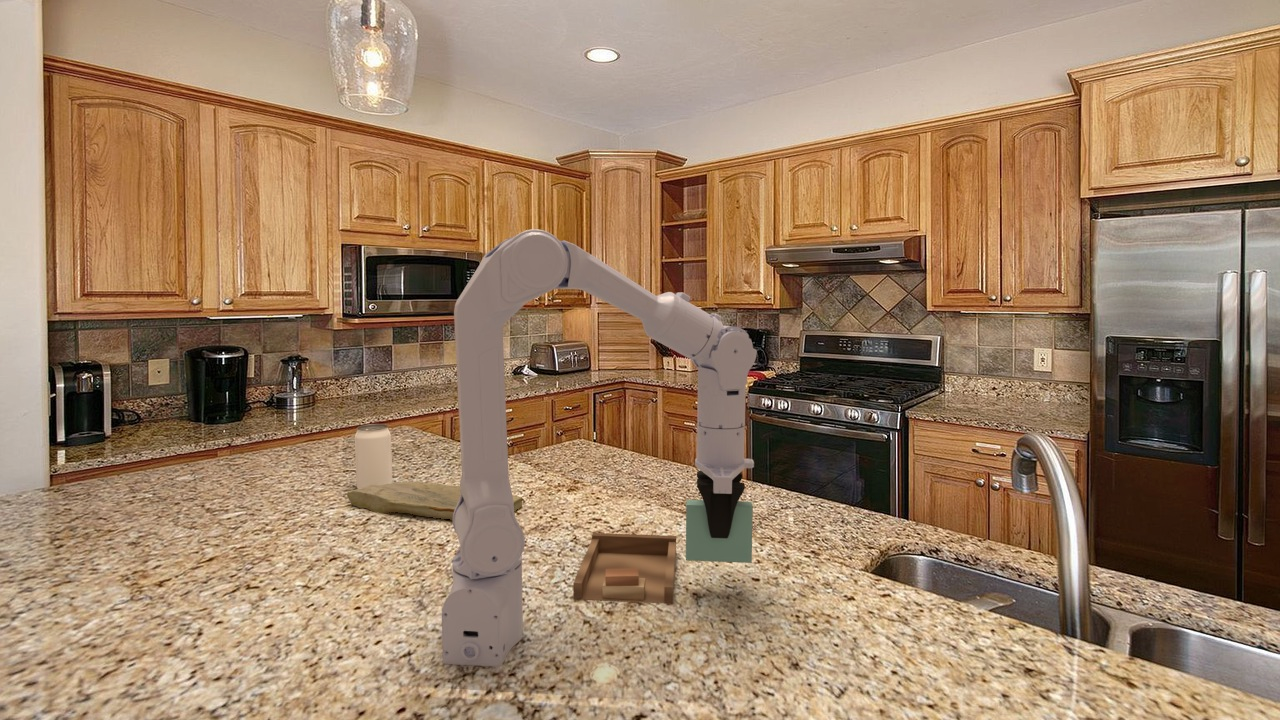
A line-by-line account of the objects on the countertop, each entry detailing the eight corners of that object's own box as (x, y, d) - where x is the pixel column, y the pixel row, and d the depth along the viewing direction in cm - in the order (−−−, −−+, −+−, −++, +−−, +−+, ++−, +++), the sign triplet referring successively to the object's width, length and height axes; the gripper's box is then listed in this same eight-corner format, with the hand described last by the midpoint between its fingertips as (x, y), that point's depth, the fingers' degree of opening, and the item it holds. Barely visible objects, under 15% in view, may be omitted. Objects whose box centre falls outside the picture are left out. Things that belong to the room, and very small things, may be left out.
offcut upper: (638, 585, 77) (638, 576, 76) (605, 586, 76) (605, 576, 76) (637, 577, 79) (637, 568, 79) (605, 578, 79) (605, 568, 78)
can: (356, 484, 125) (354, 425, 124) (391, 480, 127) (389, 422, 126) (356, 494, 119) (354, 431, 118) (393, 489, 122) (391, 428, 120)
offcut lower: (643, 600, 76) (643, 587, 76) (602, 598, 77) (602, 585, 76) (645, 590, 79) (645, 578, 79) (605, 588, 79) (605, 576, 79)
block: (751, 562, 77) (752, 506, 76) (685, 560, 77) (686, 504, 77) (750, 556, 79) (751, 501, 78) (685, 553, 79) (686, 499, 79)
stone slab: (388, 474, 122) (525, 484, 113) (389, 495, 123) (526, 507, 113) (338, 492, 111) (486, 505, 101) (340, 515, 111) (487, 530, 101)
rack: (672, 609, 76) (672, 583, 75) (573, 605, 77) (573, 579, 76) (676, 558, 90) (676, 536, 90) (593, 555, 91) (593, 532, 91)
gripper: (760, 438, 69) (757, 558, 70) (749, 413, 83) (746, 514, 85) (695, 437, 69) (694, 556, 71) (695, 412, 84) (694, 512, 85)
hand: (719, 533), depth 78 cm, fingers closed on block, 2 cm apart
